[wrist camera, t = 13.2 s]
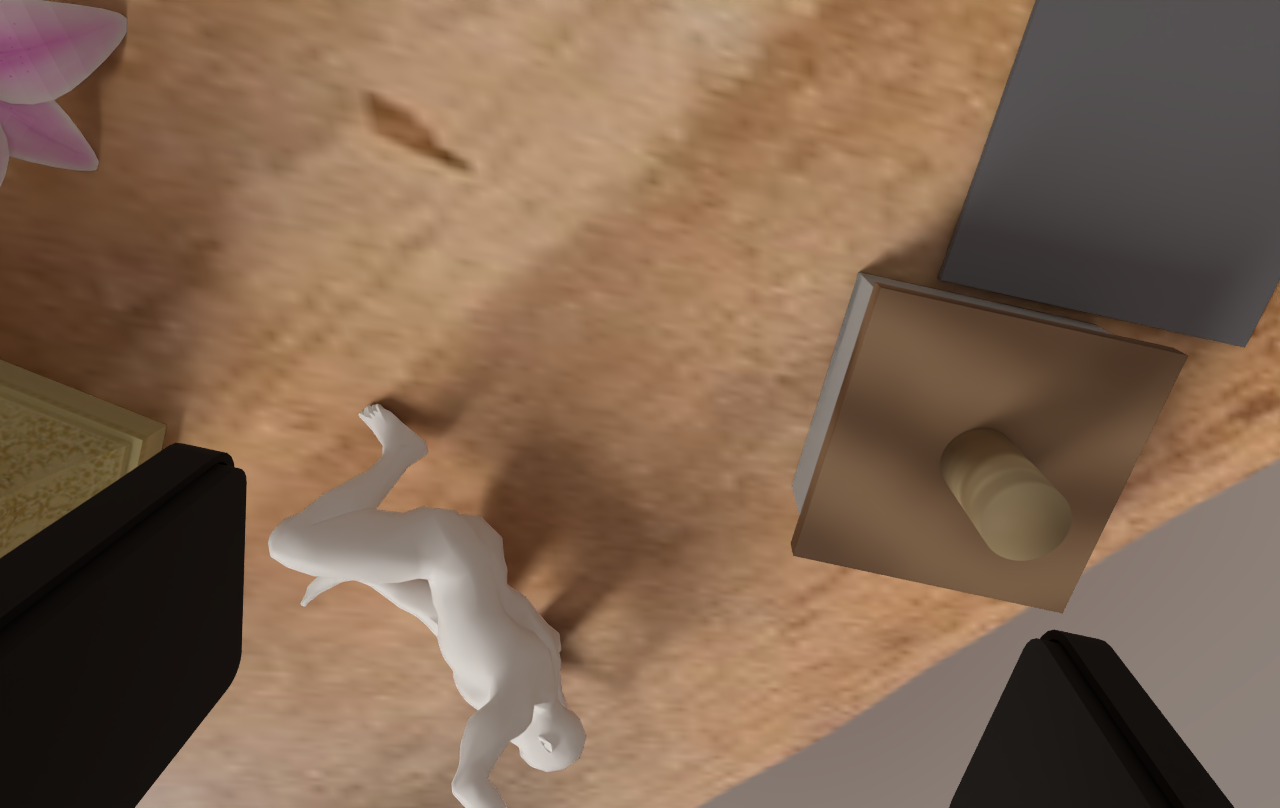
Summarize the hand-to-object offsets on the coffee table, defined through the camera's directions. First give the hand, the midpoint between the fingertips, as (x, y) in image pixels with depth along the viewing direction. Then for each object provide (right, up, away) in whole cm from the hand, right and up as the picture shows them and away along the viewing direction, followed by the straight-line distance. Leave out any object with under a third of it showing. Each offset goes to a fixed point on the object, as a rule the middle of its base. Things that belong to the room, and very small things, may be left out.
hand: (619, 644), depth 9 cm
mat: (+22, +13, +24) cm, 35 cm away
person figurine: (-8, -6, +33) cm, 35 cm away
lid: (+14, +1, +24) cm, 28 cm away
